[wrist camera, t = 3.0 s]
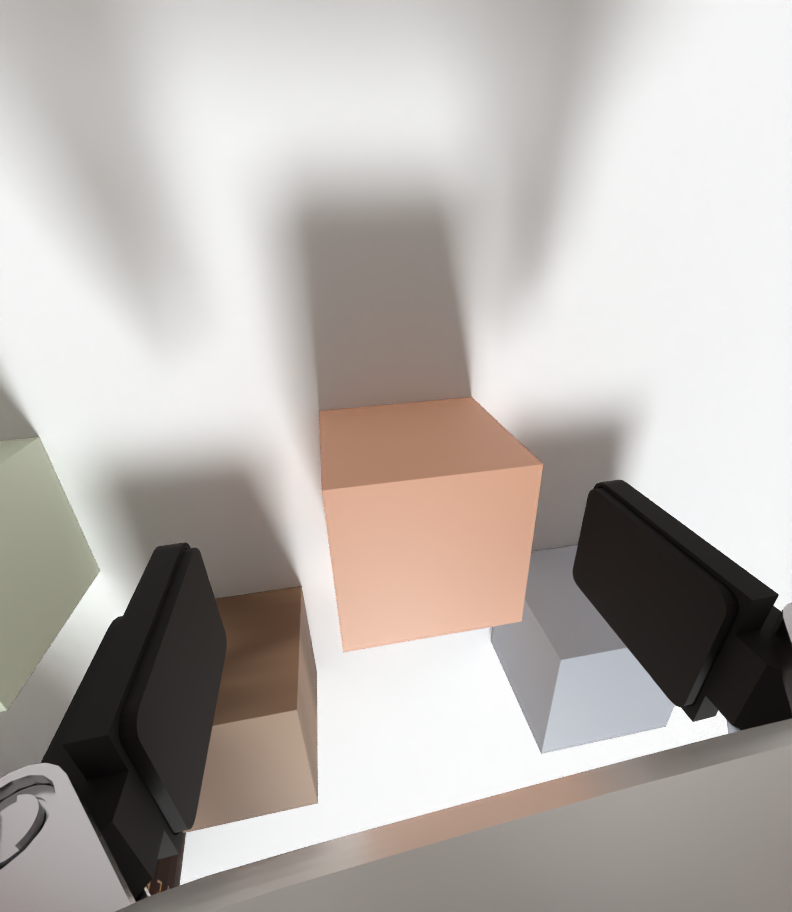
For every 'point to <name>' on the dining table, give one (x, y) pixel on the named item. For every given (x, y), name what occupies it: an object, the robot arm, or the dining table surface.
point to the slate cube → (573, 664)
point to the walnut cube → (262, 712)
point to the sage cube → (35, 561)
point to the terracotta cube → (426, 519)
